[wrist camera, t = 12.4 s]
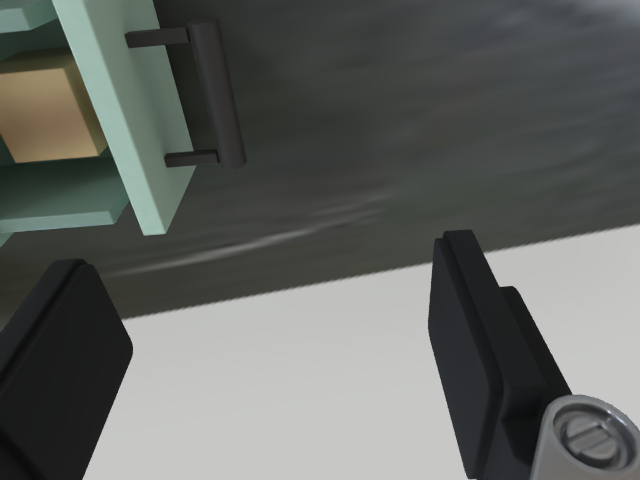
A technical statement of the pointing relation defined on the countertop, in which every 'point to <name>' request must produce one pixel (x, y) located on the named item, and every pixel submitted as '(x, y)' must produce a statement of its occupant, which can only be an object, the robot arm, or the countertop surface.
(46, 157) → the block
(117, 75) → the drawer
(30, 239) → the countertop surface
